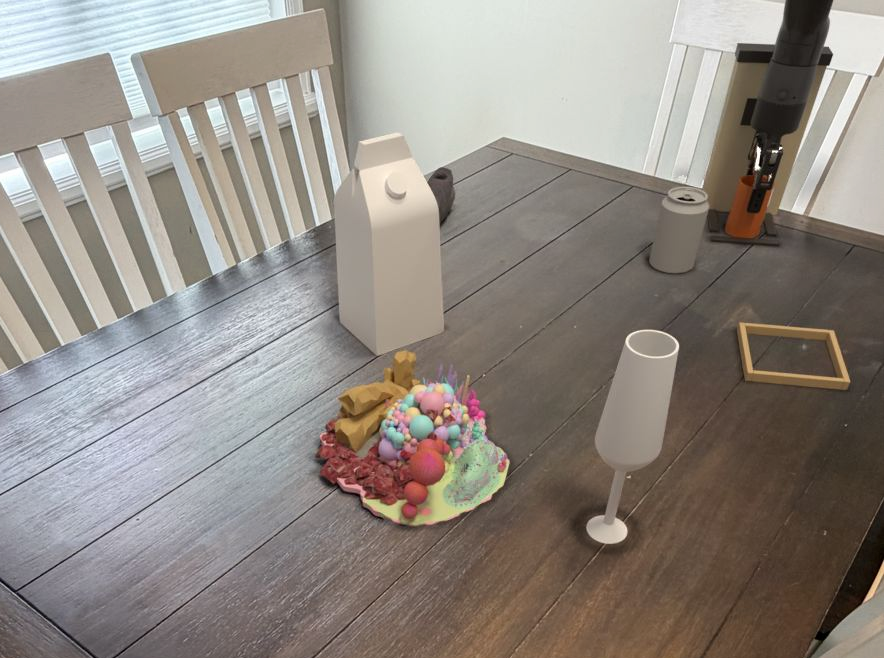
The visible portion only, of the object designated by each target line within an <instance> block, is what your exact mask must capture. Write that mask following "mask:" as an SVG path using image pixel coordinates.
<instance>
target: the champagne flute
mask: <svg viewBox="0 0 884 658" xmlns="http://www.w3.org/2000/svg"><path fill="white" fill-rule="evenodd" d="M679 351H680V343H679V342H678V340H677V339H676V338H675V337H674V336H672V335H671V334H669V333H667V332H664V331H661V330H656V329H640V330H636V331H633V332H631V333H629V334H628V335H627V337H626V338H625V341H624V344H623V347H622V350H621V353H620V357H619V359H618V362H617V367H616V370H615V372H614V375H613V378H612V382H611V384H610V388H609V390H608V391H609V392H608V395H607V397H606V401H605V404H604V408H603V410H602V413H601V416H600V419H599V423H598V427H597V428H596V432H595V435H594V445H595V448H596V451H597V454H598V455H599V456H600V458H601V459H602V461H603V462H604V463H605V464H606V465H607V466H609V467H610V468H612V469H613V470H615V471H614V475H613V479H612V483H611V488H610V492H609V496H608V500H607V505H606V509H605V512H604V514H603V515H602V514H601V515H596V516H594V517H592V518H590V519H589V520H588V521H587V523H586V532H587V534H588V535H589V537H590V538H592V539H593V540H594V541H596V542H599V543H602V544H607V545H612V544H619V543H620V542H623V540H625V539H626V537H627V536H628V528H627V525H626V524H625V523H624V521H622V520H621V519H619V518H617V517H616V516H617V512H618V508H619V504H620V501H621V496H622V492H623V489H624V485H625V480H626V476H627V473H632V472H634V471H638V470H641V469H643V468H645V467H647V466H648V465H650V464H651V463H653V462H654V461H655V460H656V459H657V458H658V457H659V455H660V453H661V451H662V448H663V444H664V439H665V438H664V437H665V431H666V427H667V420H668V415H669V408H670V403H671V397H672V396H671V395H672V391H673V386H674V379H675V373H676V367H677V362H678V356H679Z"/></svg>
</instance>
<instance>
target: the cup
mask: <svg viewBox="0 0 884 658" xmlns="http://www.w3.org/2000/svg"><path fill="white" fill-rule="evenodd" d="M754 179H755V175H745V176H743V177H741V178H740V179H739V181H738V184H737V188H736V191H735V194H734V198H733V201H732V205H731V208H730V212H728V216H727V218H726V221H725V226H724V232H725V233H726V234H728V235H729V236H730V237H743V238H756V237H758V236H759V235H760V233H761V229H762V227H763V225H764V223H763V221H764V218H765V215H766V212H767V208H768V205H769V202H770V199H771V196H772V193H773V190H774V187H775V182H774V183H773V187H772V189H771V191H770V190H767V191H766V194H765V197H764V201H763V204H762V207H761V210H760V212H759V213H748V212H747V205H748V202H749V199H750V196H751V192H752V189H753V184H754ZM766 180H767V177H765V176H763V178H762V182H766Z"/></svg>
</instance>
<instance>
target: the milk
mask: <svg viewBox="0 0 884 658" xmlns="http://www.w3.org/2000/svg"><path fill="white" fill-rule="evenodd" d="M356 149H357V150H356V154H355V159H354V164H353V167H352V169H351V170H350V171H349V172H348V174H347V176H346V177H345V178H344V180H343V181H342V182H341V184H340V185H339V187H337V190H336V192H335V194H334V199H333V213H334V232H335V233H334V234H335V252H336V253H335V256H336V272H337V273H336V275H337V294H338V314H339V315H338V316H339V324H341V325H342V326H343V327H344V328H345V329H346V330H348V332H350V333H351V334H352V335H353V336H354V337H355V338H356V339H357V340H358V341H359V342H361V344H363V345H364V346H365V347H366V348H368V350H370V351H371V353H373V354H374V355H375V356H376V357H379V356H382V355H384V354H387V353H390V352H392V351H396V350H399V349H401V348H405V347H407V346H410V345H412V344H416V343H418V342H421V341H423V340H426V339H429V338H433V337H435V336H438V335H441V334H443V333H445V317H444V296H443V294H444V293H443V273H442V270H443V269H442V251H441V250H442V248H441V229H440V228H441V227H440V226H441V225H440V224H439V210H438V205H437V201H436V199H435V196H434V194H433V192H432V191H431V189H430V187H429V185H428V183H427V182H428V181H427V180H426V178H425V177H424V175H423V172H422V170H420V167H419V166H418V164H417V161H416V160H415V158H414V157H413V154H412V152H411V150H410V147H409V145H408V143H407V140H406V138H405V135H404V134H402V133H400V132H393V133H389V134H386V135H385V134H384V135H382V136H377V137H372V138H368V139H364V140H360V141H358V144H357V148H356Z"/></svg>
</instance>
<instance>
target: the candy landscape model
mask: <svg viewBox="0 0 884 658" xmlns="http://www.w3.org/2000/svg"><path fill="white" fill-rule="evenodd" d="M417 359H418V358H417V355H416V352H410V351H409V350H407V349H404V350H400V351H397V352H395V354H394V355H393V358H392V364H391V365H392V368H388V367H383V368H384V369H383V379H384V381H383V382H379V381H374V382H372V383H369V384H367V385H364V384H360V385H357V386H354V387H351V388H348V389H347V390H345V391H344V392H343V393H342V394H341V395H340V396H338V397H337V400H338V401H339V402H340V404H342V405H341V407H340V409H339V411H338V414H337V416H336V418H337V419H338V420H337V419H335V418H332V419H331V420H330V421H329V422H327V423H326V424H325V426H324V429H325V430H326V431H324V432H322V433H321V434H320V435H319V444H321V446H319V448H318V449H317V451H316V453H315V455H314V458H316V459H324V460H327V461H326V463H324V465H323V466H322V467H321V469H320V470H319V471H318V473H319V474H320V475H322V476H323V477H324V478H325V479H327V480H328V481H329V482H330V483H331V484H333V485H335V484H336V483H337V484H338V485H339V488H340V489H342V490H343V491H344V492H347V493H353V494H358V495H360V500H361V501H362V507H363V508H366V509H368V510H369V511H370V512H371V513H372V514H373V515H374V516H375V517H381V518H382V519H388V520H390V521H391V522H392V523H394V524H397V525H404V526H409V527H419V526H423V525H424V526H433V525H436V524H438V523H441V522H448V521H450V520H453V519H455V518H457V517H459V516H460V515H461V514H463V513H468V512H471V511H473V510H475V509H476V507H477V506H480V505H481V504H484V503H486V502H489V501H490V500H491V499H492V497H493V495H494V494H495V493H497V492H498V490H500V489H501V488H503V487H504V485H505V481H506V478H507V474H508V470H509V466H510V463H511V461H510V459H508V454H507V452H504V450H503V449H502V447H500V446H497V445H496V444H495V443H494V442H493V441H491V440H489V439H488V436H487V435H486V432H487V425H486V419H485V418H486V415H487V414H486V412H485V411H484V410H482V409H481V410H480V408H479V406H480V405H481V402H480V400H479V399H476V398H477V397H476V392H475V390H473V388H472V387H470V392H468V390H469V384H470V378H471V376H470V375H468V374H467V375H466V379H465V380H464V379H463V380H462V381H461V384H460V386H459V387H458V379H457V377H458V375H457V370H455V371H454V373H453V369H454V365H453V363H450V364H449V368H448V373H447V377H445V375H444V374H443V375H442V372H443V369H444V368H443V362H441V363H440V365H439V367H438V371H437V375H436V379H435V380H434V381H435V383H434V382H433V381H432V380H431V379H426V378H425V377H423V378H422V381H423V384H421V380H418V379H414V378H415V376H416V374H415V372H416V371H415V370H416V368H415V366H416V363H417V361H418V360H417ZM440 379H441V380H440ZM444 380H445V382H444Z"/></svg>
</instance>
